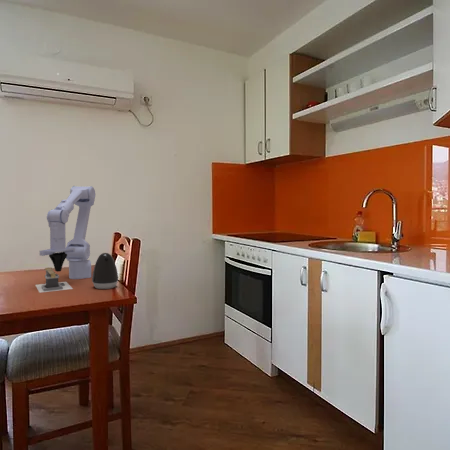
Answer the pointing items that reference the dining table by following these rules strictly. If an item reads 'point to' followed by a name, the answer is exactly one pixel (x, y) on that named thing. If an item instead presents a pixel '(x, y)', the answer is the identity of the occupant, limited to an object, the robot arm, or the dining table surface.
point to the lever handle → (51, 272)
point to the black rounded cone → (105, 272)
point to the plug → (51, 281)
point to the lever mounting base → (43, 287)
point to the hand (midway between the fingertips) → (58, 271)
